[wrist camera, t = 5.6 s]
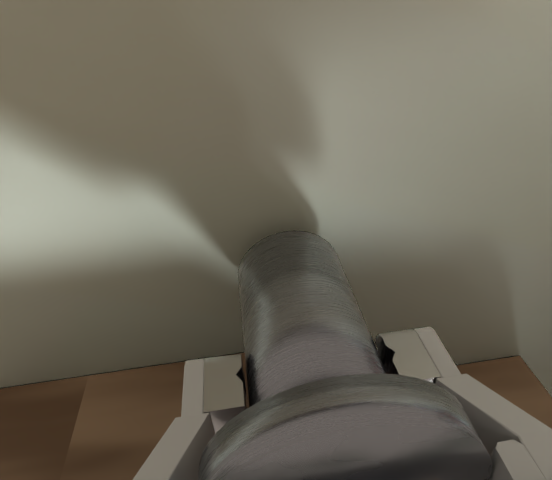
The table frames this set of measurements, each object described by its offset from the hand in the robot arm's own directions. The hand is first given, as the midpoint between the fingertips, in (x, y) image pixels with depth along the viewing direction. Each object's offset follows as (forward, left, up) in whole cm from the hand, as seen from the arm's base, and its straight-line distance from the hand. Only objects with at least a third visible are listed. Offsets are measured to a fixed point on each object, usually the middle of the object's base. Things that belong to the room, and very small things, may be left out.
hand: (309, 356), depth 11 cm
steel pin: (0, 0, -4) cm, 4 cm away
